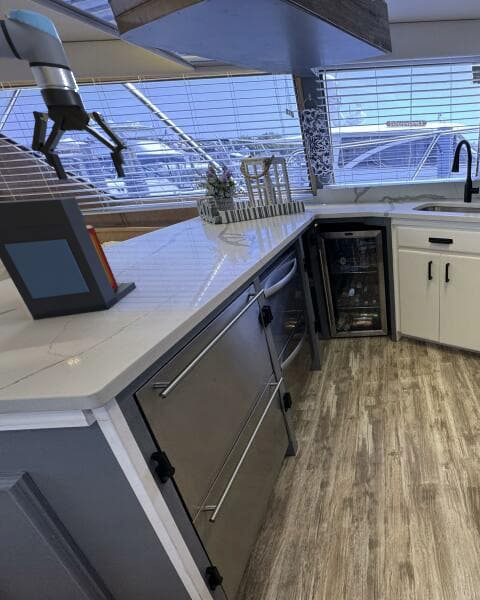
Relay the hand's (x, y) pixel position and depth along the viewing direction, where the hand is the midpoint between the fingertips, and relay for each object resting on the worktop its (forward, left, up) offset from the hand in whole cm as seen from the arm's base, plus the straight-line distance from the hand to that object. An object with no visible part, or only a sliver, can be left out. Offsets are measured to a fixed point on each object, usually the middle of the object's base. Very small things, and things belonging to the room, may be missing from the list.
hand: (93, 178), depth 91 cm
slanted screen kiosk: (0, -24, -28) cm, 37 cm away
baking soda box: (0, -21, -27) cm, 34 cm away
